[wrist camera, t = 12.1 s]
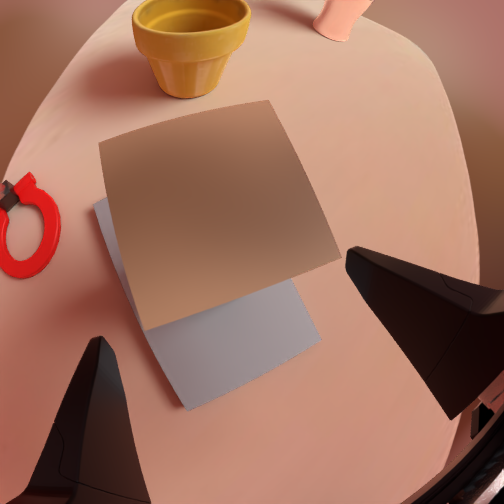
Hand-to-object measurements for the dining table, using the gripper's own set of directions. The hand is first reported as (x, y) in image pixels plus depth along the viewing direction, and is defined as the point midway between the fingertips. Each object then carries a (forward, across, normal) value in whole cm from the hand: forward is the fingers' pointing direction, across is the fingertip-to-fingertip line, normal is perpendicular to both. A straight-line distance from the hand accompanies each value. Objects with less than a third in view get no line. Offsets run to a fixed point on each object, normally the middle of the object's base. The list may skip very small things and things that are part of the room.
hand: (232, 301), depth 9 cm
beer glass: (+32, -29, -13) cm, 45 cm away
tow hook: (+18, +15, +1) cm, 24 cm away
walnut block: (+10, 0, +7) cm, 12 cm away
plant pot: (+26, -4, -7) cm, 27 cm away
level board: (+11, 0, +8) cm, 14 cm away
